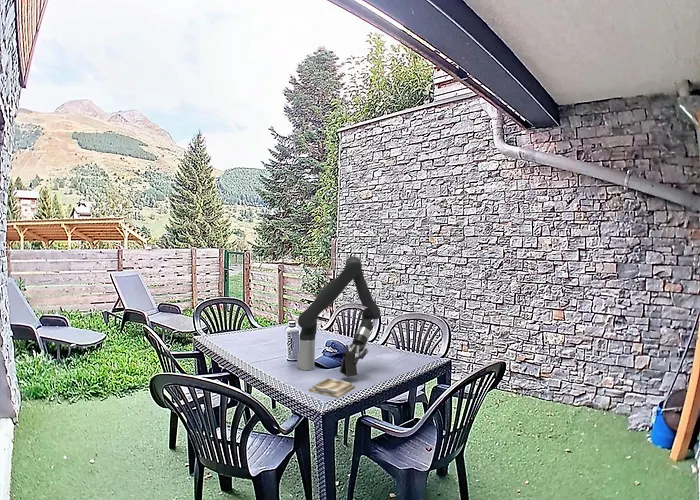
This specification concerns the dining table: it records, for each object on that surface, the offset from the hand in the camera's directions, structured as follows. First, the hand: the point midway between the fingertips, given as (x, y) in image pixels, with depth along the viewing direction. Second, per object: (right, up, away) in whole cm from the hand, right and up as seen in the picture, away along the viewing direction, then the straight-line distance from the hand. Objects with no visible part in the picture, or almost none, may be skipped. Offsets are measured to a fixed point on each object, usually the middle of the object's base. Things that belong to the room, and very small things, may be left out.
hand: (350, 363), depth 245 cm
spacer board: (-9, -10, -14) cm, 20 cm away
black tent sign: (-1, -6, +1) cm, 6 cm away
